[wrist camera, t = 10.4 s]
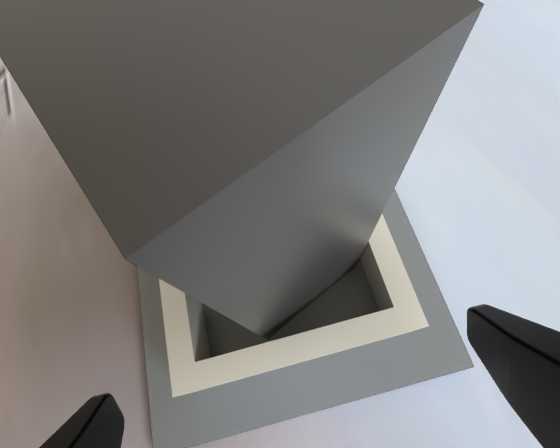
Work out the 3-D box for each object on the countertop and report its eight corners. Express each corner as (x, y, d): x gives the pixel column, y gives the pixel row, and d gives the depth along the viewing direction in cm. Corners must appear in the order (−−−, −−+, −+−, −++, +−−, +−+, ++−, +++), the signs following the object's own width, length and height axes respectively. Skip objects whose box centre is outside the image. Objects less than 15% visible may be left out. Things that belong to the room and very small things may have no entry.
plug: (356, 265, 16) (484, 4, 4) (267, 340, 15) (125, 259, 3) (286, 189, 18) (243, -137, 6) (202, 251, 17) (-33, 2, 5)
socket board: (468, 366, 15) (505, 367, 12) (159, 453, 15) (123, 475, 12) (360, 122, 20) (369, 83, 18) (133, 181, 20) (104, 151, 17)
